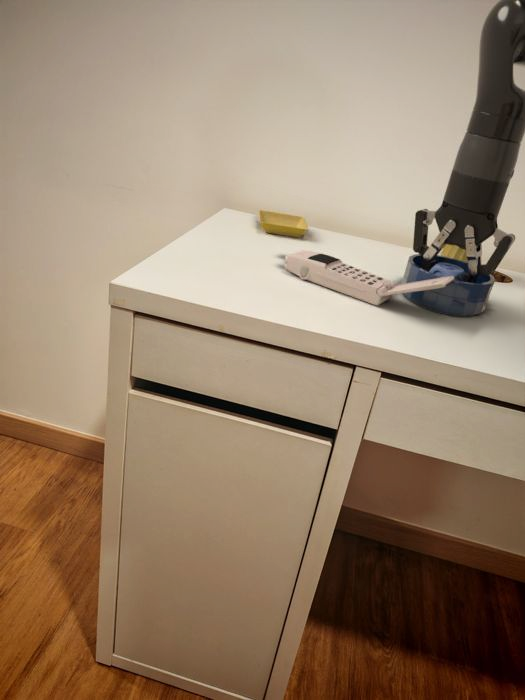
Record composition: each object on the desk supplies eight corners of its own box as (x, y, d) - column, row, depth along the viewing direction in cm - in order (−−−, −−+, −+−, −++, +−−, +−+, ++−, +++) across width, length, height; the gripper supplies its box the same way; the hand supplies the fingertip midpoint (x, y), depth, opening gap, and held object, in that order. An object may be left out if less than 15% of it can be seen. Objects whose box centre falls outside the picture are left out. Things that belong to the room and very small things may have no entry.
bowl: (492, 305, 88) (503, 274, 86) (469, 325, 78) (481, 291, 76) (416, 279, 93) (425, 249, 91) (386, 295, 84) (395, 262, 82)
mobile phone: (445, 285, 73) (276, 228, 83) (430, 328, 75) (268, 267, 86) (457, 276, 77) (296, 223, 88) (443, 317, 80) (288, 261, 90)
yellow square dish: (306, 241, 103) (308, 229, 102) (257, 233, 102) (259, 221, 101) (302, 227, 110) (304, 217, 109) (256, 220, 110) (258, 209, 109)
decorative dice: (461, 297, 85) (470, 271, 83) (444, 299, 83) (452, 273, 81) (439, 286, 88) (448, 261, 86) (422, 288, 85) (430, 262, 84)
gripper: (421, 161, 78) (387, 280, 85) (531, 188, 71) (484, 314, 79) (439, 159, 84) (406, 270, 91) (542, 184, 77) (497, 302, 85)
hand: (443, 290), depth 85 cm, fingers closed on decorative dice, 5 cm apart
